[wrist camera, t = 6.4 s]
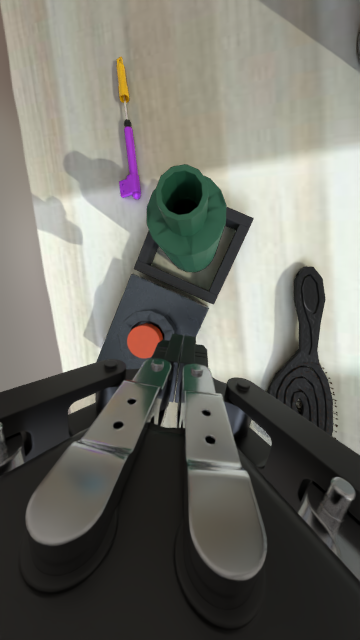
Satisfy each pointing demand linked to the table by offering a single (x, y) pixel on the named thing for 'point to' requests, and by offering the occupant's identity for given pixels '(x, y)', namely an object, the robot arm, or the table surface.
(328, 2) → the table surface
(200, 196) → the vase
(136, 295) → the panel with orange knob
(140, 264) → the dock
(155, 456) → the robot arm
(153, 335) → the button
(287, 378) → the hairbrush
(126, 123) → the purple yellow slender tool
